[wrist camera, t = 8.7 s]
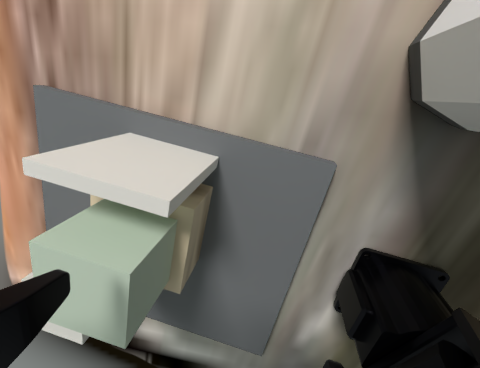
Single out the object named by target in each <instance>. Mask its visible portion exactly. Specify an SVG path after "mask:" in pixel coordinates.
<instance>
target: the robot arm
mask: <svg viewBox="0 0 480 368" xmlns="http://www.w3.org/2000/svg"><path fill="white" fill-rule="evenodd" d="M365 254H369V255H368V256H364V255H365ZM439 276H441V277H439ZM449 279H450V277H449V275H448V274H447V273H446V272H445V271H444V270H442V269H439V268H435V267H432V266H428V265H425V264H421V263H418V262H415V261H411V260H408V259H404V258H401V257H397V256H394V255H390V254H387V253H384V252H380V251H377V250H373V249H370V248H363V249H361V250H360V252H359V254H358V256H357V258H356V260H355V262H354V264H353V266H352V268H351V269H349V270H348V271H347V273H346V275H345V277H344V279H343V281H342V283H341V285H340V287H339V289H338V291H337V297H336V299H335V301H334V308H335V310H336V311H338V312H340V313H342V316H343V320H344V324H345V328H346V332H347V335H348V336H349V338H350V339H353V340H354V341H355V344H356V348H357V351H358V355H359V359H360V362H361V366H362V368H480V321H479V320H477V319H476V318H474V317H473V316H472V315H470V314H469V313H467V312H466V311H465V310H463V309H462V308H458V309H456V310H455V311H453V310H452V308H451V307H450V306H449V304H448V303H447V302H446V301H445V299H444V298H443V297H442V295H441V294H440V292H441V291H442V289H443V288H444V286H445V285H446V284H447V282H448V281H449ZM70 290H71V287H70V274H69V273H68V272H66V271H63V270H60V269H56V270H52V271H50V272H47V273H44V274H42V275H39V276H36V277H34V278H31V279H28V280H26V281H23V282H20V283H18V284H15V285H12V286H9V287H7V288H4V289H2V290H0V368H8V367H9V365H10V364H11V363H12V362H13V361H14V360H15V359H16V358H17V357H18V356H19V355H20V354H21V353H22V351H23V350H24V349H25V348H26V347H27V346H28V345H29V344H30V343H31V342H32V340H33V339H34V338H35V337H36V336H37V335H38V333H39V332H40V331H41V330H42V328H43V327H44V326H45V325H46V323H47V322H48V321H49V319H50V318H51V317H52V316H53V314H54V313H55V312H56V311H57V309H58V308H59V307H60V306H61V304H62V303H63V302H64V301H65V299H66V298H67V297H68V295H69V293H70ZM323 368H344V367H343V366H342V365H341V364H340V363H338V362H335V361H332V360H327V361H326V362H325V364H324V366H323Z"/></svg>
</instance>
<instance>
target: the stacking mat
mask: <svg viewBox="0 0 480 368" xmlns="http://www.w3.org/2000/svg"><path fill="white" fill-rule="evenodd" d="M33 88H34V99H35V110H36V121H37V132H38V144H39V154H37V155H32V156H28V157H24V158H22V162H23V170H24V175H27V176H31V177H34V178H37V179H41V180H42V188H43V199H44V210H45V221H46V231H48V230H50V229H51V228H53V227H55V226H57V225H59V224H60V223H62V222H64V221H66V220H67V219H69V218H71V217H73V216H74V215H76V214H78V213H80V212H82V211H83V210H85V209H87V208H89V207H90V195H94V196H97V197H100V198H104V199H107V200H110V201H114V202H117V203H120V204H124V205H127V206H130V207H134V208H137V209H140V210H144V211H147V212H150V213H153V214H157V215H160V216H163V217H167V218H168V217H169V216H170V215H171V214H172V213H173V212H174V211H175V210H176V209H177V208H178V207H179V206H180V205H181V204H182V203H183V202H184V201H185V199H186V198H187V197H188V196H189V195H190V194H191V193H192V192H193V191H194V190H195V189H196V188H197V187H198V186H199V185H200V184H201V183H202V184H205V185H209V186H212V187H213V190H212V195H211V200H210V205H209V210H208V215H207V220H206V225H205V230H204V235H203V240H202V245H201V250H200V255H199V259H198V261H197V263H196V265H195V267H194V269H193V271H192V272H191V274H190V276H189V278H188V280H187V282H186V284H185V286H184V287H183V289H182V291H181V293H180V294H178V293H175V292H172V291H169V290H166V289H163V290H162V292H161V294H160V295H159V297H158V298H157V300H156V301H155V303H154V305H153V306H152V308H151V309H150V311H149V312H148V314H147V316H146V317H148V318H151V319H154V320H157V321H160V322H163V323H166V324H169V325H172V326H175V327H178V328H181V329H183V330H186V331H189V332H192V333H195V334H198V335H201V336H204V337H207V338H210V339H213V340H216V341H219V342H221V343H224V344H227V345H230V346H233V347H236V348H239V349H242V350H245V351H248V352H251V353H254V354H257V355H259V356H262V354H263V351H264V349H265V346H266V344H267V341H268V339H269V336H270V334H271V331H272V329H273V326H274V323H275V321H276V318H277V316H278V313H279V311H280V308H281V306H282V303H283V301H284V298H285V296H286V293H287V291H288V288H289V286H290V283H291V281H292V278H293V275H294V273H295V270H296V268H297V265H298V263H299V260H300V258H301V255H302V253H303V250H304V248H305V245H306V243H307V240H308V238H309V235H310V233H311V230H312V228H313V225H314V222H315V220H316V217H317V215H318V212H319V210H320V207H321V205H322V202H323V200H324V197H325V195H326V192H327V190H328V187H329V185H330V182H331V180H332V177H333V174H334V172H335V169H336V167H337V165H336V163H335V162H334V161H330V160H326V159H322V158H318V157H315V156H311V155H307V154H303V153H299V152H296V151H292V150H288V149H284V148H281V147H277V146H273V145H269V144H265V143H262V142H258V141H254V140H250V139H246V138H243V137H239V136H235V135H231V134H227V133H224V132H220V131H216V130H212V129H208V128H205V127H201V126H197V125H193V124H189V123H186V122H182V121H178V120H174V119H170V118H167V117H163V116H159V115H155V114H151V113H148V112H144V111H140V110H136V109H133V108H129V107H125V106H121V105H117V104H114V103H110V102H106V101H102V100H98V99H95V98H91V97H87V96H83V95H79V94H76V93H72V92H68V91H64V90H60V89H57V88H53V87H49V86H44V85H33Z"/></svg>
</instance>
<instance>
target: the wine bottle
mask: <svg viewBox="0 0 480 368" xmlns="http://www.w3.org/2000/svg"><path fill="white" fill-rule="evenodd" d="M409 62H410V83H411V99H412V100H413V101H415V102H416V103H418V104H419V105H421V106H423V107H424V108H426V109H427V110H429V111H430V112H432V113H434V114H435V115H437V116H438V117H440V118H441V119H443V120H444V121H446V122H448V123H449V124H451V125H453V126H455V127H458V128H461V129H466V130H470V131H476V132H480V0H444V1H443V2H442V4H441V5H440V6H439V8H438V9H437V10H436V12H435V13H434V14H433V16H432V17H431V18H430V20H429V21H428V22H427V24H426V25H425V26H424V28H423V29H422V30H421V31H420V33H419V34H418V35H417V37H416V38H415V39H414V41H413V42H412V43H411V45H410V46H409Z"/></svg>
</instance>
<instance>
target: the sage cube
mask: <svg viewBox="0 0 480 368" xmlns="http://www.w3.org/2000/svg"><path fill="white" fill-rule="evenodd" d="M177 221H178V220H176V219H173V218H169V217H168V218H167V217H163V216H160V215H157V214H153V213H150V212H147V211H144V210H140V209H137V208H134V207H130V206H127V205H124V204H120V203H117V202H114V201H110V200H107V199H103V200H101V201H99V202H98V203H96V204H94V205H92V206H90V207H89V208H87V209H85V210H83V211H82V212H80V213H78V214H76V215H74V216H73V217H71V218H69V219H67V220H66V221H64V222H62V223H60V224H59V225H57V226H55V227H53V228H51V229H50V230H48V231H46V232H44V233H43V234H41V235H39V236H37V237H35V238H34V239H32V240H30V241H29V247H30V255H31V263H32V271H33V278H34V277H36V276H39V275H42V274H44V273H47V272H50V271H52V270H56V269H60V270H63V271H66V272H68V273H69V274H70V287H71V290H70V293H69V295H68V297H67V298H66V299H65V301H64V302H63V303H62V304H61V306H60V307H59V308H58V309H57V311H56V312H55V313H54V314H53V316H52V317H51V318H50V319H49V321H48V322H51V323H53V324H56V325H59V326H62V327H65V328H68V329H70V330H73V331H76V332H79V333H82V334H84V335H87V336H90V337H93V338H96V339H98V340H101V341H104V342H107V343H110V344H113V345H115V346H118V347H121V348H124V349H125V348H126V347H127V345H128V344H129V342H130V341H131V339H132V337H133V336H134V334H135V333H136V331H137V330H138V328H139V327H140V325H141V323H142V322H143V320H144V319H145V317H146V316H147V314H148V312H149V311H150V309H151V308H152V306H153V305H154V303H155V301H156V300H157V298H158V297H159V295H160V294H161V292H162V290H163V289H164V287H165V286H166V284H167V283H168V281H169V276H170V270H171V263H172V256H173V249H174V242H175V235H176V228H177Z"/></svg>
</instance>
